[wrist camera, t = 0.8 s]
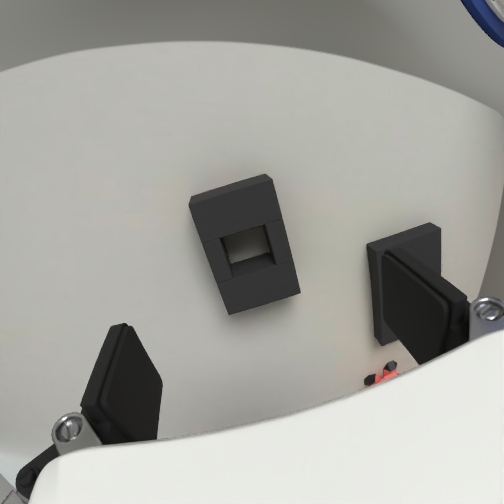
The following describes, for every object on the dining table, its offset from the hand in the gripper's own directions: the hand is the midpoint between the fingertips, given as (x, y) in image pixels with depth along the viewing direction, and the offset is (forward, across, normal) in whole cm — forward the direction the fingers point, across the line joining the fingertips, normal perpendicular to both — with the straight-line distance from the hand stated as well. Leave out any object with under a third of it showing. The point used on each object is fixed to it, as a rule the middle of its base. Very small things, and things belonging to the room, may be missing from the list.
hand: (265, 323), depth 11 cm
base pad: (+16, -16, +12) cm, 26 cm away
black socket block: (+17, 0, +3) cm, 17 cm away
